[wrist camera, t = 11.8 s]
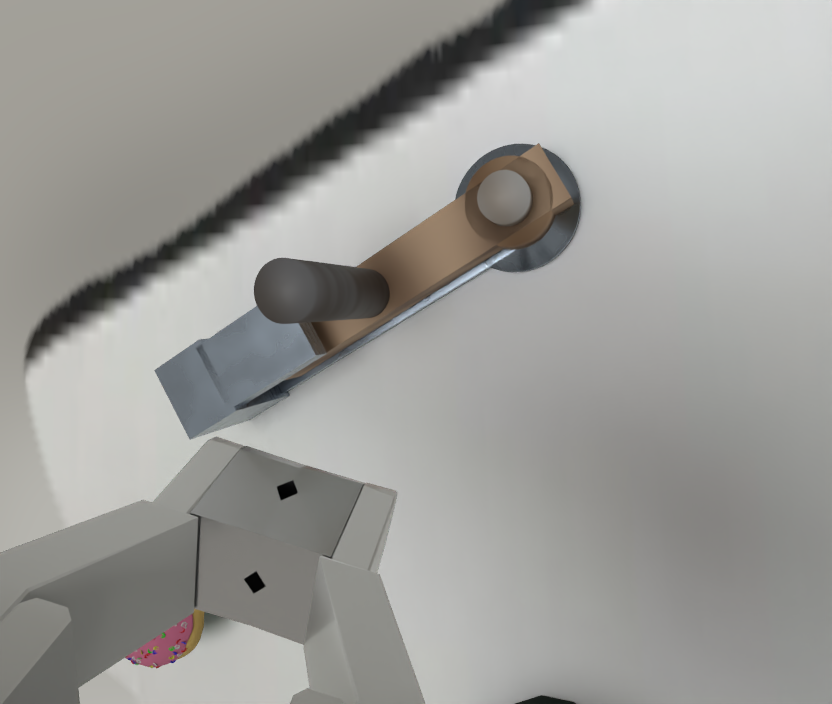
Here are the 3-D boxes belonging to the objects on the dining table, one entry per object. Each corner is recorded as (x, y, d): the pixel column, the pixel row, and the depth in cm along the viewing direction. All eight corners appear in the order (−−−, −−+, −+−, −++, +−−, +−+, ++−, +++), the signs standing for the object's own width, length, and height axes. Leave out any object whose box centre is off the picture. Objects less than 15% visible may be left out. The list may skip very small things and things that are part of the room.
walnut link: (537, 143, 36) (500, 65, 24) (580, 215, 35) (565, 172, 24) (271, 323, 42) (138, 331, 30) (305, 385, 42) (184, 419, 30)
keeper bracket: (540, 121, 37) (526, 84, 31) (604, 229, 36) (603, 214, 30) (209, 345, 45) (145, 352, 39) (256, 436, 45) (199, 457, 38)
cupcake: (132, 587, 49) (-12, 673, 38) (170, 502, 47) (31, 566, 36) (213, 652, 47) (86, 763, 36) (256, 566, 45) (137, 654, 34)
